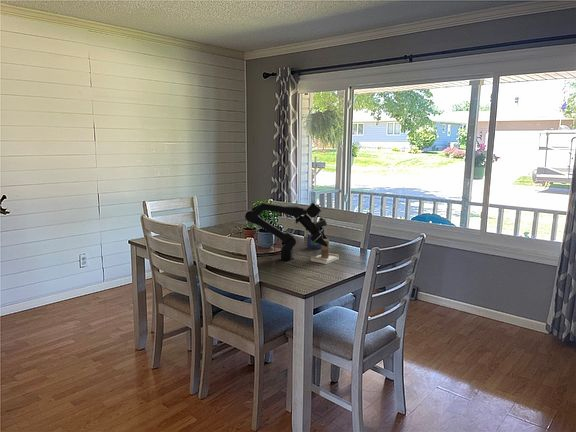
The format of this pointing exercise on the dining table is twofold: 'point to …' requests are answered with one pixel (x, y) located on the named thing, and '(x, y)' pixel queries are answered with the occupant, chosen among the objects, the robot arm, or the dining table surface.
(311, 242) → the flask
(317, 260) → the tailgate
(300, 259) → the dining table surface
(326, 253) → the walnut block
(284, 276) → the dining table surface
